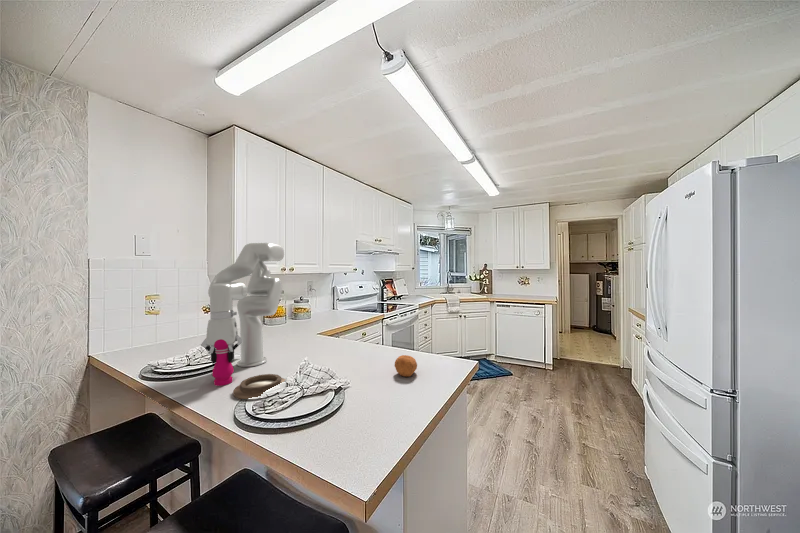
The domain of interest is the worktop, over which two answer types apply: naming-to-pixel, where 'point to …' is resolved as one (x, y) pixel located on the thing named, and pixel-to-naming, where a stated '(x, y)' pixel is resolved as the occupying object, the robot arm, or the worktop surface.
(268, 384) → the round tray
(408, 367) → the potato
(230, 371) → the pepper mill
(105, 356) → the worktop surface
